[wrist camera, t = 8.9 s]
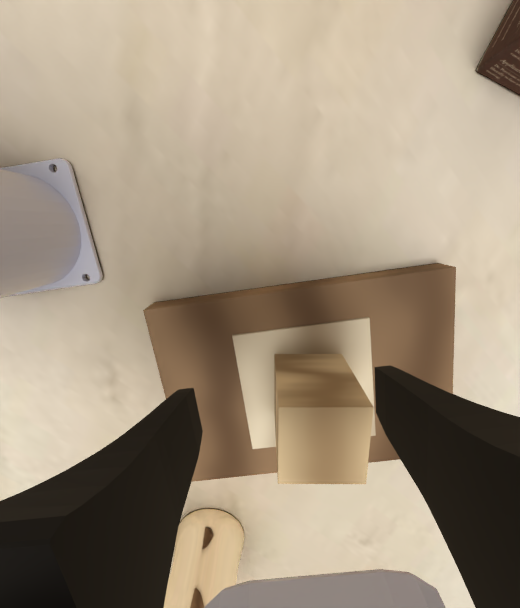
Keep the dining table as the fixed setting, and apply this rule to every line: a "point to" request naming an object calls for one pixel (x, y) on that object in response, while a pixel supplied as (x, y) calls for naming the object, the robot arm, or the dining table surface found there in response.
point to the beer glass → (204, 558)
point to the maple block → (320, 420)
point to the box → (504, 51)
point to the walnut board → (298, 351)
